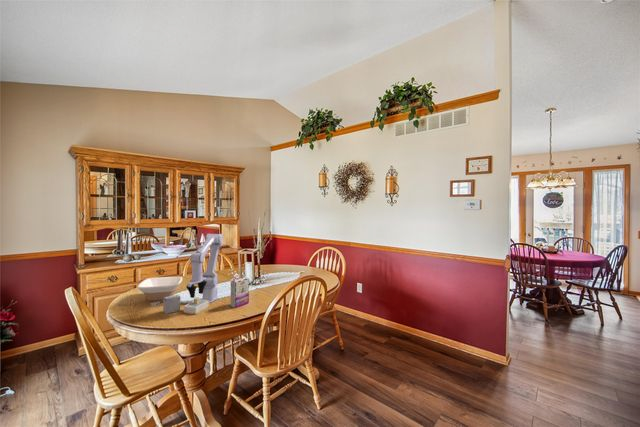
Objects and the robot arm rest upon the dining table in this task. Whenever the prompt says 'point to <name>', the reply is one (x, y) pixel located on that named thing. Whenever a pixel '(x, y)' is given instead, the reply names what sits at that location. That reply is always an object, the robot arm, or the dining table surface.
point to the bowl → (159, 287)
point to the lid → (196, 302)
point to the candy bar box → (239, 292)
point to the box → (196, 308)
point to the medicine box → (171, 304)
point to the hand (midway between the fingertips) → (196, 295)
